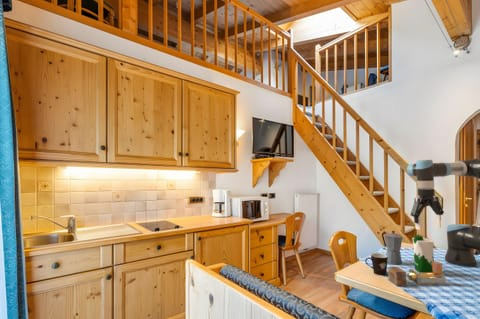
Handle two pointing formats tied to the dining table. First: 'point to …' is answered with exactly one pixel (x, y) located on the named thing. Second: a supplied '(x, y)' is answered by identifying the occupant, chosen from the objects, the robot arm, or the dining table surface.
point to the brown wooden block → (397, 276)
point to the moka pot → (393, 247)
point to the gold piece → (436, 272)
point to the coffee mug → (378, 263)
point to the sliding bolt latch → (427, 279)
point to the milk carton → (423, 254)
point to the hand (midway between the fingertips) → (428, 228)
